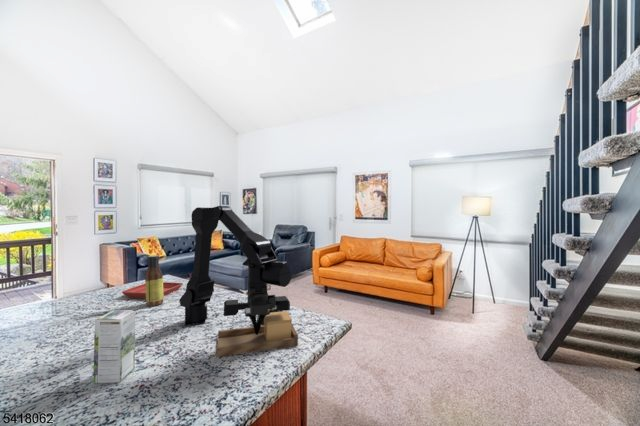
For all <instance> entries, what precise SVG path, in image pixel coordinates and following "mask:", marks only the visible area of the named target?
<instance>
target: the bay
mask: <svg viewBox="0 0 640 426" xmlns="http://www.w3.org/2000/svg"><path fill="white" fill-rule="evenodd" d="M217 334H218V335H217V347H216V358H219V357H225V356H226V357H227V356H234V355H239V354H245V353H254V352H260V351H265V350H267V351H268V350H273V349H280V348H287V347H288V348H289V347H293V346H298V345H299V335H298V333H297V331H296V329H295V327H294V325H293V323H292V322H291V338H284V339H277V340H269V341H266V337H265V333H264V325H262V326H261V327H260V330H259V332H258V335H256V334H255V330H254V327H253V326H246V327H238V328H230V329H221V330H220V329H219V330H218V331H217Z"/></svg>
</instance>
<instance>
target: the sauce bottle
mask: <svg viewBox="0 0 640 426" xmlns="http://www.w3.org/2000/svg"><path fill="white" fill-rule="evenodd" d="M159 261H160V255H158V254H157V255H156V254H155V255H154V254H153V255H148V256H147V270H146V271H145V275H144V276H145V281H144V282H145V283H144V284H145V288H146V298H145V302H146V306H149V307H156V306H160V305H162V304H163V303H164V299H165V298H164V297H165V296H164V294H163V282H164V276H163V272H162V269H161V266H160V262H159Z"/></svg>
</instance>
